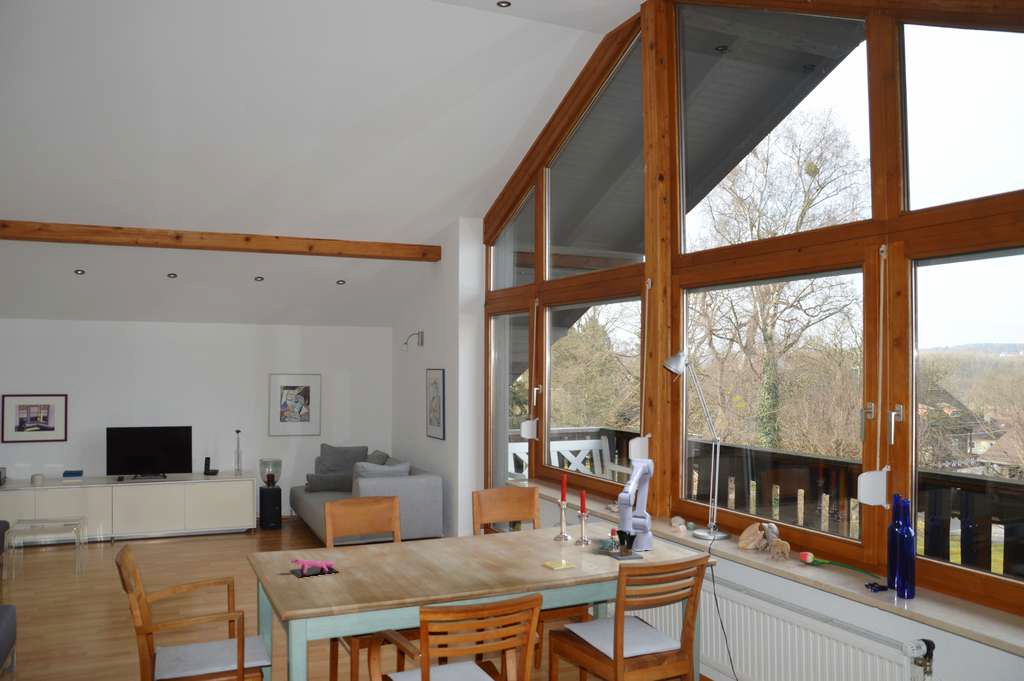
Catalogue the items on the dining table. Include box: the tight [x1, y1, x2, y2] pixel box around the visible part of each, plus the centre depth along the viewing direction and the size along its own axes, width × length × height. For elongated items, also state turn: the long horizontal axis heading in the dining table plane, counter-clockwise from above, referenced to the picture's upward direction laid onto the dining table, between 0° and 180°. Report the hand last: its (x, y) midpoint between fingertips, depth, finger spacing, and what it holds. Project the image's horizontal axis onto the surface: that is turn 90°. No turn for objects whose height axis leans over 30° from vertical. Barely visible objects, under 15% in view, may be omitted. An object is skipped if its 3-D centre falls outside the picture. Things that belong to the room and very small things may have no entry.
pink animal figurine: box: [289, 557, 339, 579], centre depth 357 cm, size 15×20×7 cm
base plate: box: [608, 550, 644, 561], centre depth 389 cm, size 12×12×1 cm
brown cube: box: [618, 544, 633, 556], centre depth 389 cm, size 4×4×4 cm
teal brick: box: [601, 538, 616, 550], centre depth 406 cm, size 4×4×4 cm
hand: (626, 547), depth 389 cm, fingers open, 7 cm apart
